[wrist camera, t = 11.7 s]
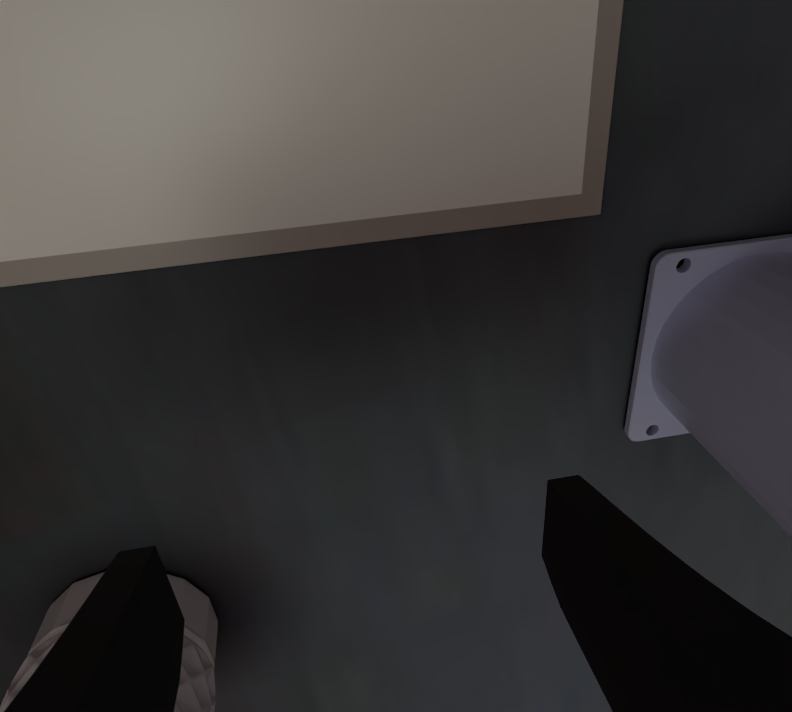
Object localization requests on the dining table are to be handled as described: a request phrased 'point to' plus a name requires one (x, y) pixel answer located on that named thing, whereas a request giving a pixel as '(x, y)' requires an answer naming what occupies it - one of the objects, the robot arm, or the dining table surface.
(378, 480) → the dining table surface
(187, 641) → the white cup
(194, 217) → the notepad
